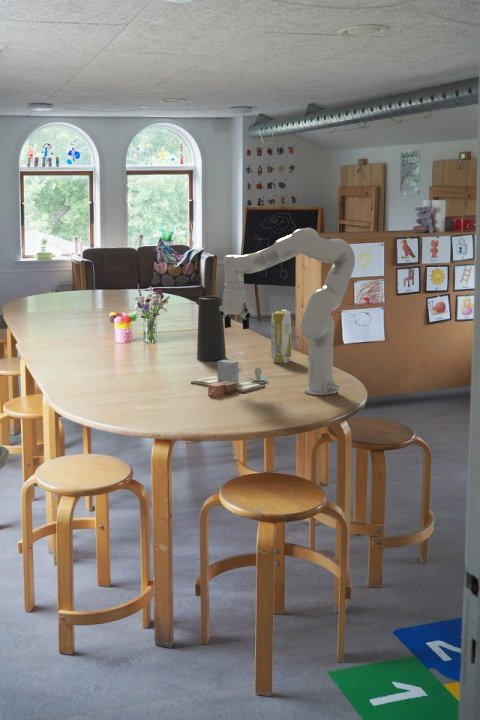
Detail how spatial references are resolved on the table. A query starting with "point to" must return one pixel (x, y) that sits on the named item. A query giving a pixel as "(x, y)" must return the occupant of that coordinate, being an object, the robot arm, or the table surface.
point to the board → (241, 385)
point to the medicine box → (227, 371)
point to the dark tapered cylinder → (210, 330)
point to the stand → (229, 387)
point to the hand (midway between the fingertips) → (236, 328)
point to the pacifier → (258, 377)
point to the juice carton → (281, 336)
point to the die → (216, 390)
